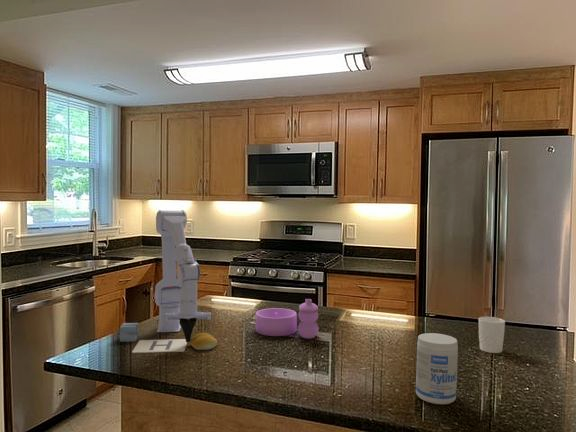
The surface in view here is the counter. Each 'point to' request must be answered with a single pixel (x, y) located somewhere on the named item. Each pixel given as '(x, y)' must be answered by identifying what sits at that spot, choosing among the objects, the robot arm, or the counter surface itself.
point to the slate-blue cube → (128, 332)
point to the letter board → (160, 346)
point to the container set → (288, 321)
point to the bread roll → (203, 341)
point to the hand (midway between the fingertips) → (188, 341)
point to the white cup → (491, 334)
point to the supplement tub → (436, 368)
